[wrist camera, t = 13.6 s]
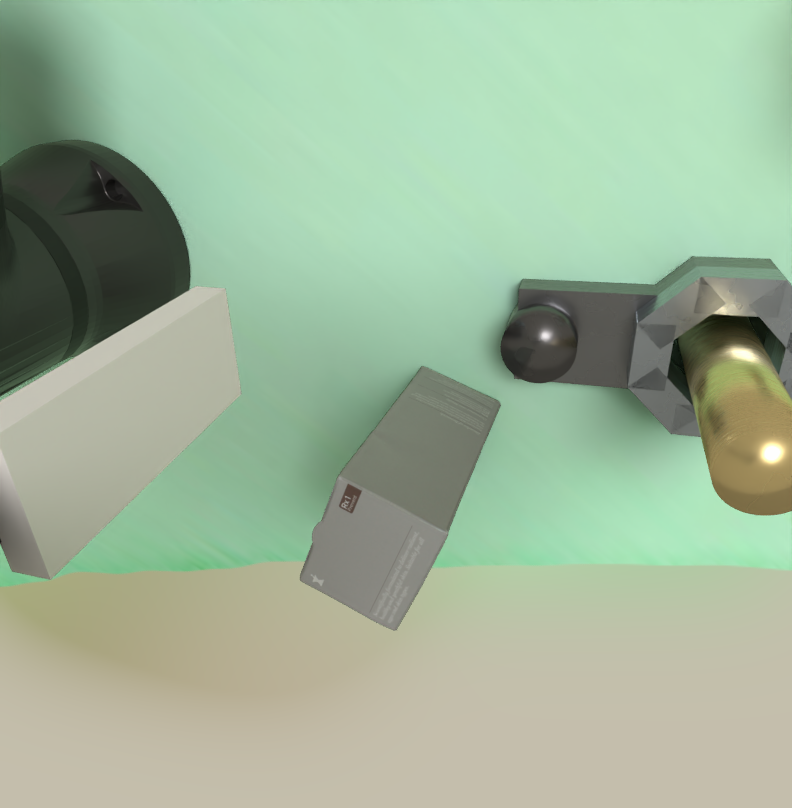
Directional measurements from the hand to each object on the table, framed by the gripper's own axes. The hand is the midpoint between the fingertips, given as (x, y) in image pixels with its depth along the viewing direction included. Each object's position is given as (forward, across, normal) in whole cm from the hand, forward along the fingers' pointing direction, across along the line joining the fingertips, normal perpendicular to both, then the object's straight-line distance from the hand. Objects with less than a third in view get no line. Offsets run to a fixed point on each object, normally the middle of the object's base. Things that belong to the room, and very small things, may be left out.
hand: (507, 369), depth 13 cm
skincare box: (+27, -7, -18) cm, 33 cm away
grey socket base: (+26, +10, -9) cm, 30 cm away
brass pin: (+26, +10, -9) cm, 30 cm away
